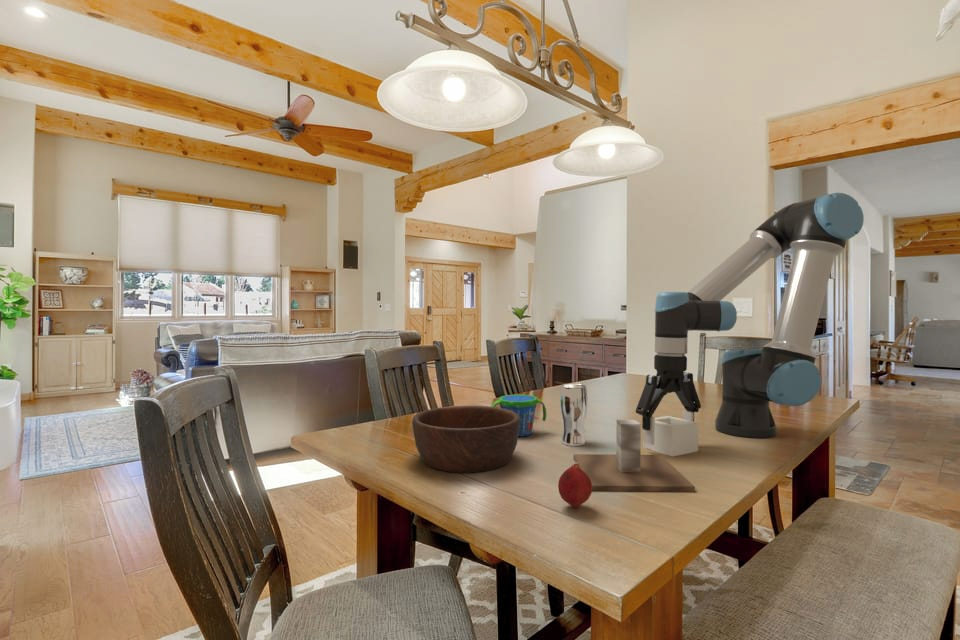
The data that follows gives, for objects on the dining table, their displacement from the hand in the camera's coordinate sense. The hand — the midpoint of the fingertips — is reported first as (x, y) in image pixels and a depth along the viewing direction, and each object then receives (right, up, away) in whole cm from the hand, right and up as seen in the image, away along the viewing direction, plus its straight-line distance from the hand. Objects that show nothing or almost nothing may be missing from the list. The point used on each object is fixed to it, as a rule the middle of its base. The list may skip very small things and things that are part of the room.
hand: (668, 440), depth 121 cm
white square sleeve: (0, -2, 0) cm, 2 cm away
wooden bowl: (-50, -3, -7) cm, 50 cm away
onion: (-30, -4, -35) cm, 46 cm away
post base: (-15, -3, -17) cm, 23 cm away
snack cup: (-36, -2, +16) cm, 39 cm away
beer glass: (-22, -2, +6) cm, 23 cm away
